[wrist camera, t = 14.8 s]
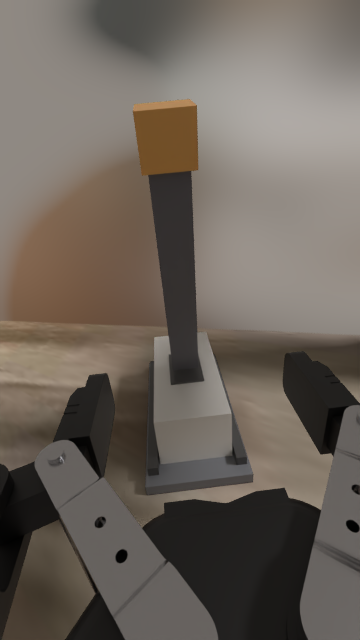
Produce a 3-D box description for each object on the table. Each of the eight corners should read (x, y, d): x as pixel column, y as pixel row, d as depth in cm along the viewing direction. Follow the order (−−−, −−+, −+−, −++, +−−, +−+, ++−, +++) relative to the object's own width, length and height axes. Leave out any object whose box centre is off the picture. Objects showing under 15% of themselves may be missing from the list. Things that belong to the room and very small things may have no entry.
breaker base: (252, 481, 25) (254, 428, 23) (146, 495, 25) (135, 442, 22) (215, 361, 42) (213, 321, 39) (150, 368, 41) (144, 329, 39)
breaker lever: (202, 371, 29) (196, 105, 15) (169, 375, 29) (132, 111, 15) (198, 348, 31) (189, 99, 17) (167, 352, 31) (134, 104, 17)
